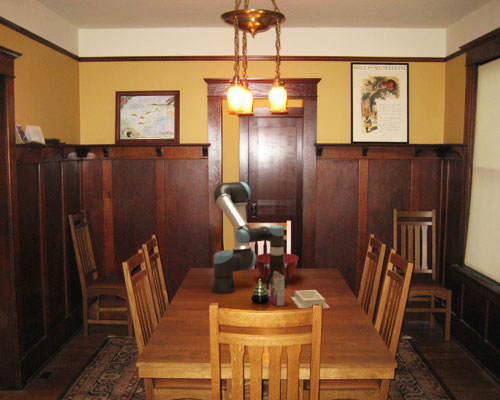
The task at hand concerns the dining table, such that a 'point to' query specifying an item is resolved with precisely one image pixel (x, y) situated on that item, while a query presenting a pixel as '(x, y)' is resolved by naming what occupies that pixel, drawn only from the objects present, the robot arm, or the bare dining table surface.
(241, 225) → the robot arm
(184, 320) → the dining table surface
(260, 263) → the mixing bowl
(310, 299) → the beige shallow square tray
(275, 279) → the candy bar box
